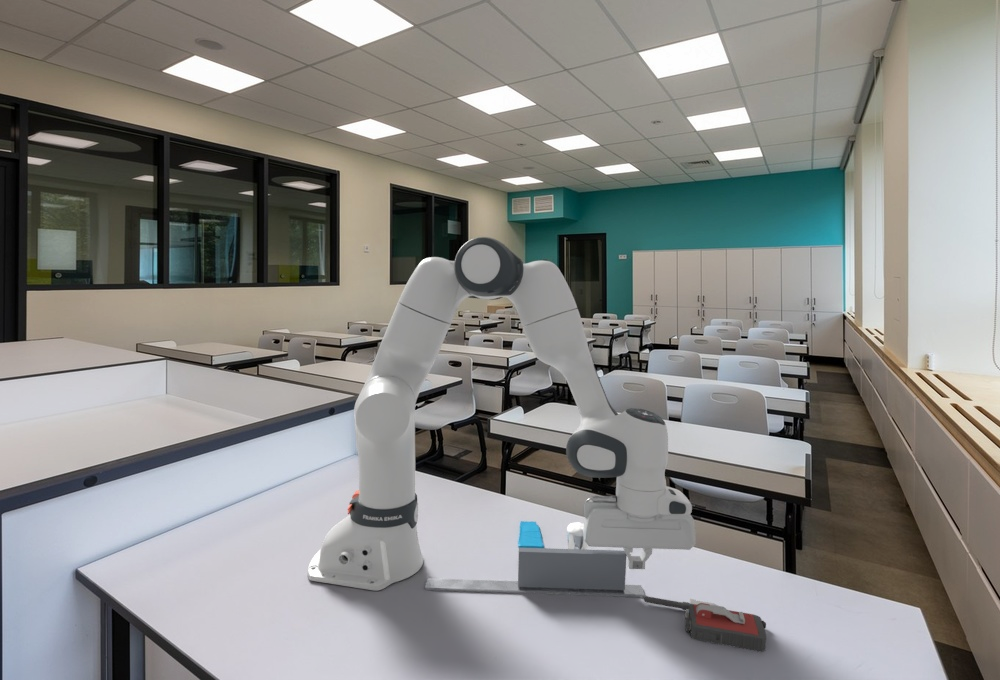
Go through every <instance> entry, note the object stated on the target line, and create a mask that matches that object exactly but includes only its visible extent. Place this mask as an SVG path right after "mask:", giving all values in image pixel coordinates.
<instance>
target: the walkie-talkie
mask: <svg viewBox="0 0 1000 680" xmlns="http://www.w3.org/2000/svg"><path fill="white" fill-rule="evenodd" d="M643 601H644V602H645V603H646V604H652V605H653V604H654V605H658V606H665V607H668V608H669V607H671V608H676V609H682V610H683V611H685V612H684V618H685V622H684V623H685V624H684V625H685V626H684V627H685V631H686V632H688V633H689V632H690V638H691V639H693V640H695V641H701V642H705V643H706V642H707V643H712V644H716V645H724V646H728V647H733V648H739V649H746V650H750V651H754V652H755V651H756V652H760V653H762V652H764V651H766V646H767V643H766V642H767V633H766V630H765V629H766V628H767V622H765V621H764V620H762V618H761V616H759V615H756V614H754V613H747V612H743V611H735V610H729V609H727V608H726V607H724V606H721V605H718V604H715V603H714V602H708V601H700V600H696V599H692V598H690V599H689V602H687V601H682V602H681V601H677V600H671V599H665V598H658V597H653V596H648V595H645V597H643Z"/></svg>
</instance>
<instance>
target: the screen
mask: <svg viewBox="0 0 1000 680" xmlns="http://www.w3.org/2000/svg"><path fill="white" fill-rule="evenodd" d="M517 566H518V568H517V581H518V587H542V588H574V589H605V590H625V585H626V576H627V575H626V574H627V573H626V572H627V555H626V553H625V551H624V550H618V549H617V550H614V549H612V550H611V549H609V550H607V549H587V550H584V549H568V548H551V547H548V548H547V547H546V548H545V547H544V548H518V565H517Z"/></svg>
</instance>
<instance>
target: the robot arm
mask: <svg viewBox="0 0 1000 680" xmlns="http://www.w3.org/2000/svg"><path fill="white" fill-rule="evenodd" d="M467 298H470V299H477V300H478V299H479V300H480V299H481V300H488V301H489V300H490V301H493V300H500V299H502V298H504V299H508V300H509V301H510V303H512V305H513V307H514V308H515V310H516V312H517V315H518V318H519V321H520V324H521V326H522V330H523V333H524V336H525V339H526V341H527V343H528V345H529V347H530V350H532V352H533V354H534V356H535V357H536V358H537V360H539V361H541V362H542V363H543V364H545V365H548V366H551V367H552V368H554V369H555V370H557V371H558V372H559V373H560V374H561V375H562V376H563V377H564V379H565V381H566V382H567V385H568V387H569V390H570V392H571V394H572V396H573V397H572V398H573V399H574V402H575V405H576V408H577V410H578V413H579V417H580V421H579V426H578V427H577V428H576V429H575V430H574V432H573V433H572V434H571V436H570V437H569V439H568V440H567V442H566V448H565V450H566V451H565V454H566V458H567V460H568V462H569V464H570V466H571V468H572V469H574V471H575V472H576V473H578V474H580V475H582V476H584V477H586V478H587V477H588V478H596V479H597V478H599V479H600V478H601V479H602V478H604V479H608V478H609V479H610V478H616V483H615V484H616V485H615V487H616V488H615V495H602V496H600V495H591V497H589V498H587V499H586V500H585V501H584V502H583V505H582V506H583V507H582V515H583V516H584V519H583V520H584V521H583V524H584V526H583V537H584V541H585V542H586V543H587V545H588V546H587V547H592V548H594V547H595V548H597V547H598V548H621V549H623V551H625V553H626V555H627V556H626V558H627V567H628V569H629V570H646V562H647V561H648V559H649V558H650V557H651V556H652V554H653V549H655V550H657V549H658V550H685V551H686V550H687V551H690V550H691V549H693V547H694V546H695V545H696V524H695V520H694V517H693V516H692V515H691V513H692V512H693V511H692V510H693V505H692V503H691V501H690V500H689V499H688V497H687V496H686V495H685V494H684V493H683V492H682V491H681V490H679V489H677V488H674V487H671V486H667V480H666V476H665V475H666V474H665V472H666V468H667V466H668V460H669V432H668V427H667V425H666V422H665V421H664V419H663V418H662V417H661V416H660V415H658V414H656V413H655V412H652V411H650V410H647V409H642V408H639V407H638V408H635V407H631V408H626V409H625V410H624V411H623V412H620V413H618V412H617V411H616V410H615V409H614V407H613V406H612V405H611V403H610V402H609V401H610V400H608V397H607V394H606V391H605V389H604V387H603V385H602V382H601V379H600V377H599V374H598V372H597V369H596V366H595V364H594V361H593V359H592V356H591V351H590V348H589V344H588V340H587V335H586V332H585V327H584V325H583V321H582V318H581V314H580V311H579V308H578V306H577V303H576V300H575V297H574V296H573V292H572V291H571V288H570V286H569V285H568V282H567V281H566V279H565V277H564V275H563V273H562V272H561V270H560V268H559V267H558V266H557V265H556V264H555V263H554V262H552V261H549V260H542V259H541V260H540V259H539V260H533V261H530V262H527V263H523V260H522V259H521V258H520V257H519V256H517V254H516V253H514V252H513V251H512V250H511V249H510V248H509V247H507V245H506V244H504V243H502V242H501V241H499V240H497V239H495V238H492V237H489V236H480V237H479V236H478V237H474V238H472V239H469V240H468V241H466V242H465V243H463V245H461V247H460V248H459V250H458V251H457V253H456V255H455V258H454V260H449V259H447V258H444V257H439V256H431V257H430V256H429V257H426V258H424V259H422V260H421V261H420V262H419V263H418V265H416V267H415V268H414V271H413V272H412V274H411V275H410V277H409V279H408V281H407V282H406V284H405V286H404V288H403V290H402V292H401V294H400V296H399V298H398V301H397V304H396V306H395V308H394V311H393V313H392V315H391V318H390V320H389V322H388V324H387V325H388V326H387V327H386V330H385V333H384V335H383V337H382V340H381V342H380V345H379V347H378V349H377V352H376V355H375V358H374V360H373V362H372V365H371V368H370V370H369V373H368V374H367V377H366V380H365V382H364V385H363V386H362V387H361V388H362V389H361V391H360V392H359V395H357V396H358V397H357V398H356V400H355V404H354V407H353V414H354V429H355V430H354V431H355V433H354V434H355V441H356V442H355V443H356V450H357V451H356V453H357V459H358V462H357V463H358V489H357V490H356V491H355V492H354V494H353V495H352V496H351V497H352V499H351V500H350V502H349V504H348V507H347V516H345V517H344V518H343V519H341V520H340V521H339V522H337V523H336V524H335V525H333V526H332V527H331V529H329V531H328V532H327V533H326V535H325V537H324V539H323V541H322V544H321V547H320V549H319V550H318V551H317V552H316V553H315V554H314V555H313V557H312V558H311V560H310V561H309V564H308V567H307V578H308V580H309V581H312V582H318V583H325V584H330V585H337V586H343V587H351V588H356V589H362V590H369V591H375V592H377V591H381V590H384V589H385V588H388V586H390V585H391V584H394V583H397V582H400V581H404V580H405V579H408V578H410V577H411V576H413V575H414V574H416V573H417V572H419V570H420V569H421V568H422V567H423V564H424V556H423V553H422V550H421V546H420V543H419V542H420V541H419V537H418V536H419V535H418V529H417V527H418V526H417V523H418V519H419V503H418V495H417V493H416V422H415V421H416V403H417V400H418V398H419V395H420V392H421V391H422V388H423V386H424V384H425V382H426V379H427V378H428V376H429V373H430V372H431V370H432V367H433V366H434V364H435V362H436V359H438V355H439V354H440V351H441V348H442V346H443V343H444V341H445V339H446V337H447V334H448V332H449V329H450V327H451V325H452V322H453V319H454V317H455V316H456V312H457V310H458V308H459V307H460V305H461V303H462V302H463V301H464V300H465V299H467ZM634 549H642V552H641V553H640V555H632V553H633V550H634Z"/></svg>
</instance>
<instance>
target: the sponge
mask: <svg viewBox="0 0 1000 680" xmlns="http://www.w3.org/2000/svg"><path fill="white" fill-rule="evenodd" d="M517 546H518V547H517V548H518V549H519V548H545V545H544V541H543V535H542V533H541V528H540V526H539V525H538V524H537V522H536V521H527V520H526V521H525V520H524V521H520V522H519V535H518V541H517Z"/></svg>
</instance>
